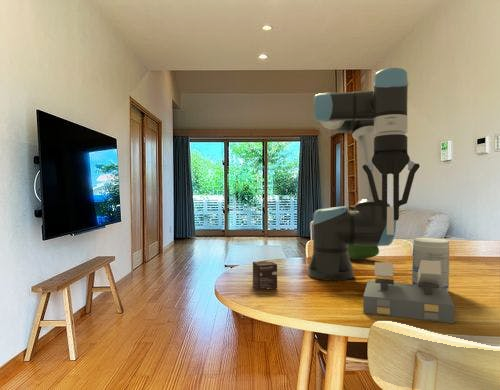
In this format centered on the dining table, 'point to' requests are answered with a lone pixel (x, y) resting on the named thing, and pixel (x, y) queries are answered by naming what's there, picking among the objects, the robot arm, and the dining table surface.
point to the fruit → (362, 251)
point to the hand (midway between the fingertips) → (390, 233)
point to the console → (408, 300)
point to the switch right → (429, 271)
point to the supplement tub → (431, 257)
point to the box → (264, 274)
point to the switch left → (384, 269)
